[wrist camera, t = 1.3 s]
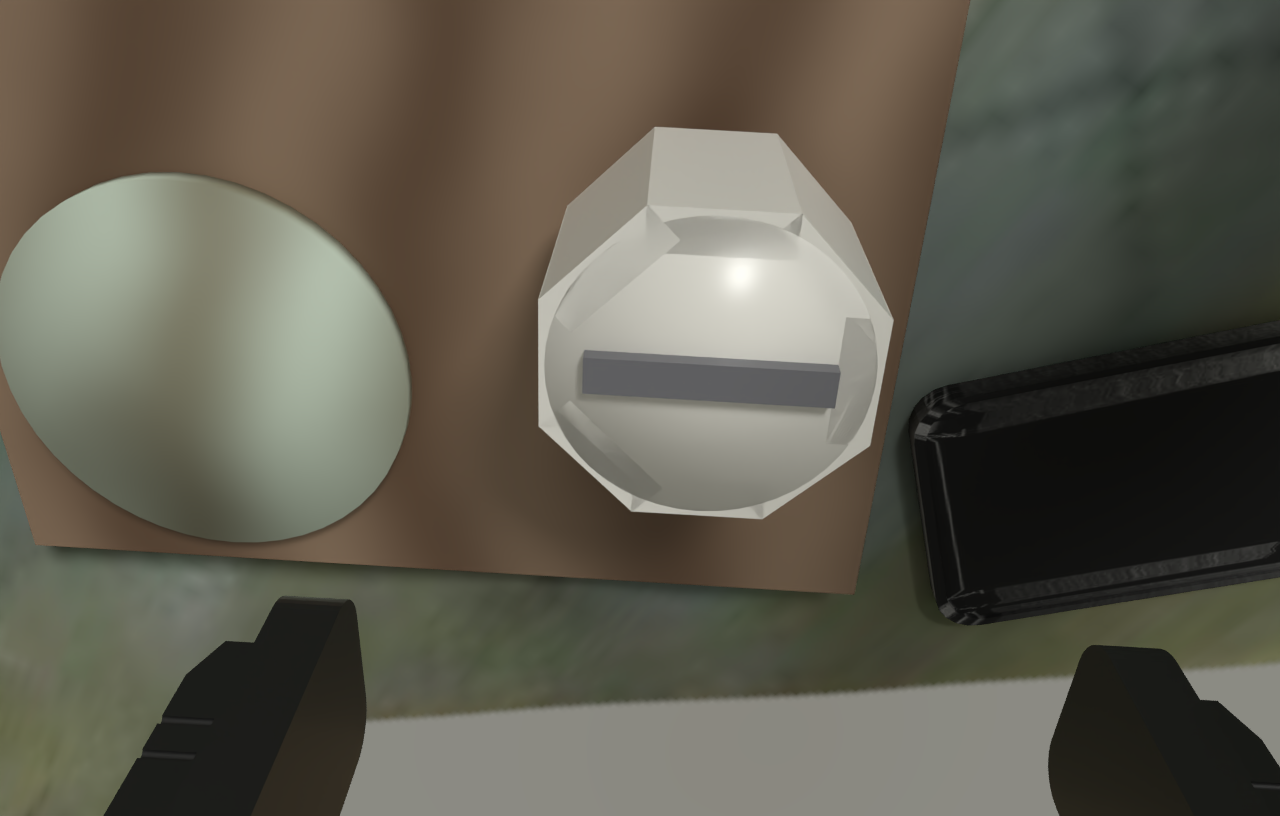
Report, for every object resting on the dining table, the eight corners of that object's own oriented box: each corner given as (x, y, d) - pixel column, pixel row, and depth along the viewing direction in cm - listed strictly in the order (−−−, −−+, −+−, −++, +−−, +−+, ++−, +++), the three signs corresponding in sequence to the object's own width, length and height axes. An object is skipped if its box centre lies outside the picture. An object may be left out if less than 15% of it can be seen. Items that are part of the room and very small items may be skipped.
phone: (908, 408, 26) (1552, 284, 24) (900, 387, 27) (1518, 266, 25) (940, 634, 30) (1500, 546, 28) (932, 608, 31) (1471, 521, 28)
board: (957, -33, 22) (1065, 18, 16) (846, 561, 30) (889, 749, 23) (-110, -93, 22) (-417, -64, 16) (64, 513, 30) (-96, 688, 24)
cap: (864, 138, 20) (916, 226, 16) (823, 397, 23) (857, 534, 19) (568, 121, 21) (534, 204, 16) (565, 381, 24) (536, 515, 19)
